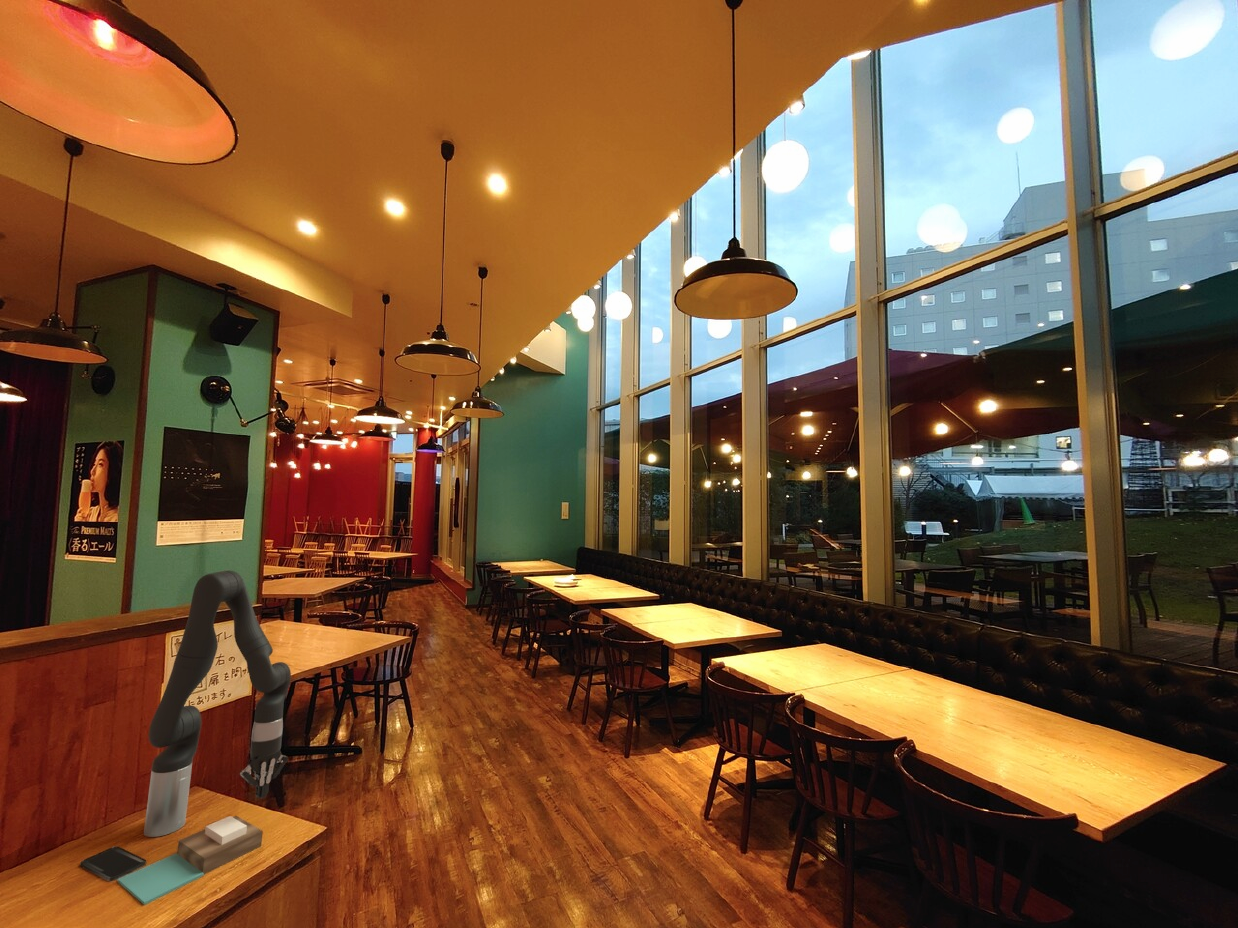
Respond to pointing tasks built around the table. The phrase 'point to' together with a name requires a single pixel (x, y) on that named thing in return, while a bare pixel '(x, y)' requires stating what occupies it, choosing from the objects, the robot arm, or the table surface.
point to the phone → (113, 863)
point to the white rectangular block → (225, 830)
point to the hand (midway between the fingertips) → (261, 797)
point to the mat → (160, 878)
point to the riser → (218, 848)
